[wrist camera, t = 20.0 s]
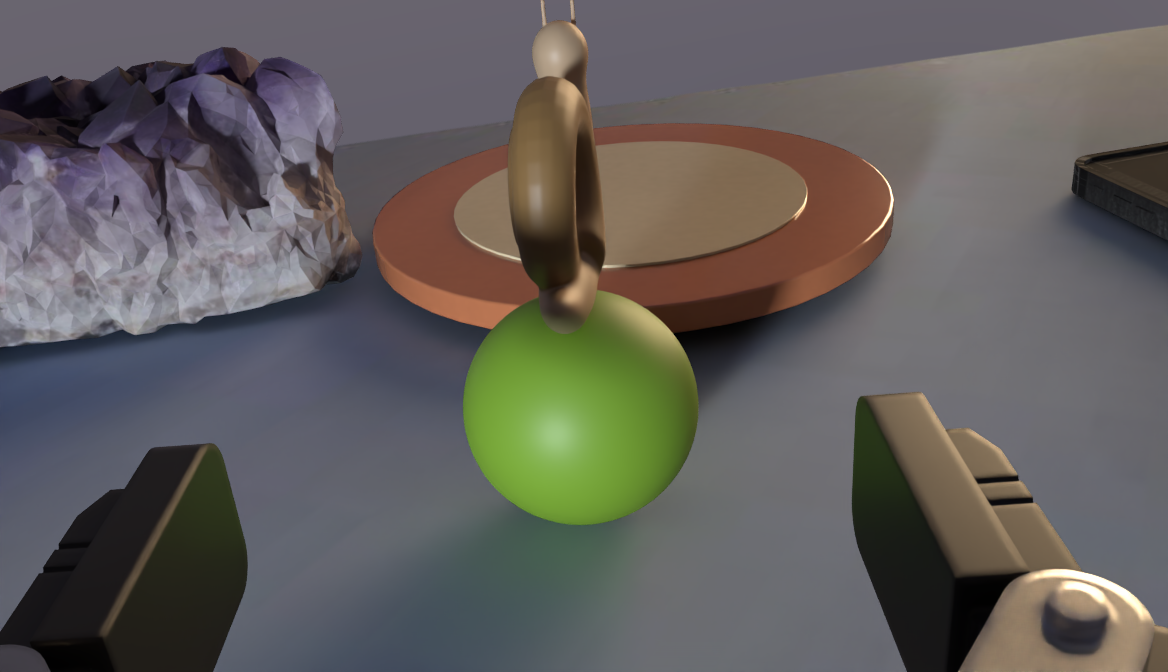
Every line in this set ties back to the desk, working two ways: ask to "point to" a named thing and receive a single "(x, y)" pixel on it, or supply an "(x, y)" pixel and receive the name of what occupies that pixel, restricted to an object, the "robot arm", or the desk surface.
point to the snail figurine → (573, 330)
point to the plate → (653, 226)
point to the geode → (166, 196)
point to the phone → (1128, 184)
